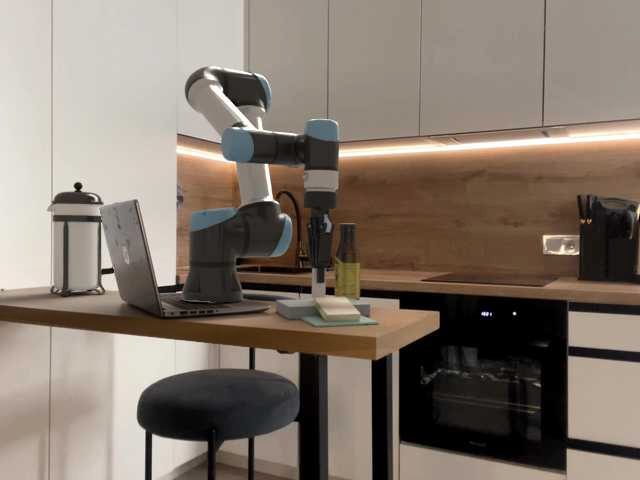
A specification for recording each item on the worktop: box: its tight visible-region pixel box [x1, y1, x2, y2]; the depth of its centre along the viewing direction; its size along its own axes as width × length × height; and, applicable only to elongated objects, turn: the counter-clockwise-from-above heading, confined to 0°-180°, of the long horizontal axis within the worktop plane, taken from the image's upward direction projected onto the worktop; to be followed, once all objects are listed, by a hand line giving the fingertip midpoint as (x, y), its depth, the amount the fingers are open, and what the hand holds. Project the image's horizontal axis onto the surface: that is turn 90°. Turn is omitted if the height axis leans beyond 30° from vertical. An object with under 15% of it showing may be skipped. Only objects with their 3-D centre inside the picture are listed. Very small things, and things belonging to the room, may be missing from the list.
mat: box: [301, 315, 379, 328], centre depth 118 cm, size 10×13×1 cm
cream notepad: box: [313, 296, 361, 322], centre depth 119 cm, size 9×7×2 cm
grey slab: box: [275, 298, 371, 320], centre depth 128 cm, size 11×18×2 cm, turn 108°
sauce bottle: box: [334, 222, 361, 301], centre depth 144 cm, size 6×6×20 cm
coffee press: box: [46, 181, 115, 298], centre depth 158 cm, size 17×16×30 cm
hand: (318, 297), depth 130 cm, fingers closed
